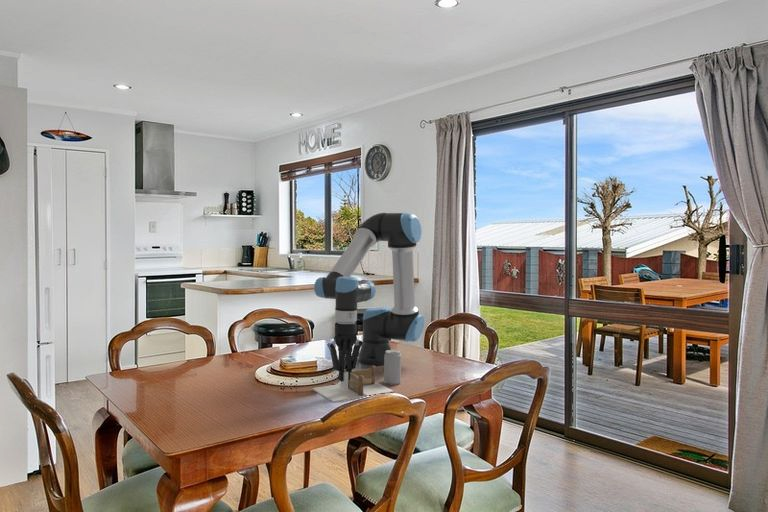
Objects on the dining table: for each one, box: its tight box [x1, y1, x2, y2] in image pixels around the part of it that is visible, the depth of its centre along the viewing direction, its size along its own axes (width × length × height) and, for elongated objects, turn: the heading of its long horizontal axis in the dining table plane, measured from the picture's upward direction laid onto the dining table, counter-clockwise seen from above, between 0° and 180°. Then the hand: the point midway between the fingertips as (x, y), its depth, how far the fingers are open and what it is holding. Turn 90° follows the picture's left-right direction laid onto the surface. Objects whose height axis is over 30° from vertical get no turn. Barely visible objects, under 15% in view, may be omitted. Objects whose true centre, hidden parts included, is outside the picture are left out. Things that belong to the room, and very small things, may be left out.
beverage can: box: [383, 349, 402, 386], centre depth 203 cm, size 6×6×12 cm
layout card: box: [311, 381, 395, 403], centre depth 192 cm, size 16×24×1 cm, turn 123°
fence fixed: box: [348, 365, 377, 388], centre depth 197 cm, size 2×12×7 cm, turn 123°
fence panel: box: [349, 373, 364, 395], centre depth 189 cm, size 2×10×6 cm, turn 28°
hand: (344, 389), depth 186 cm, fingers closed
